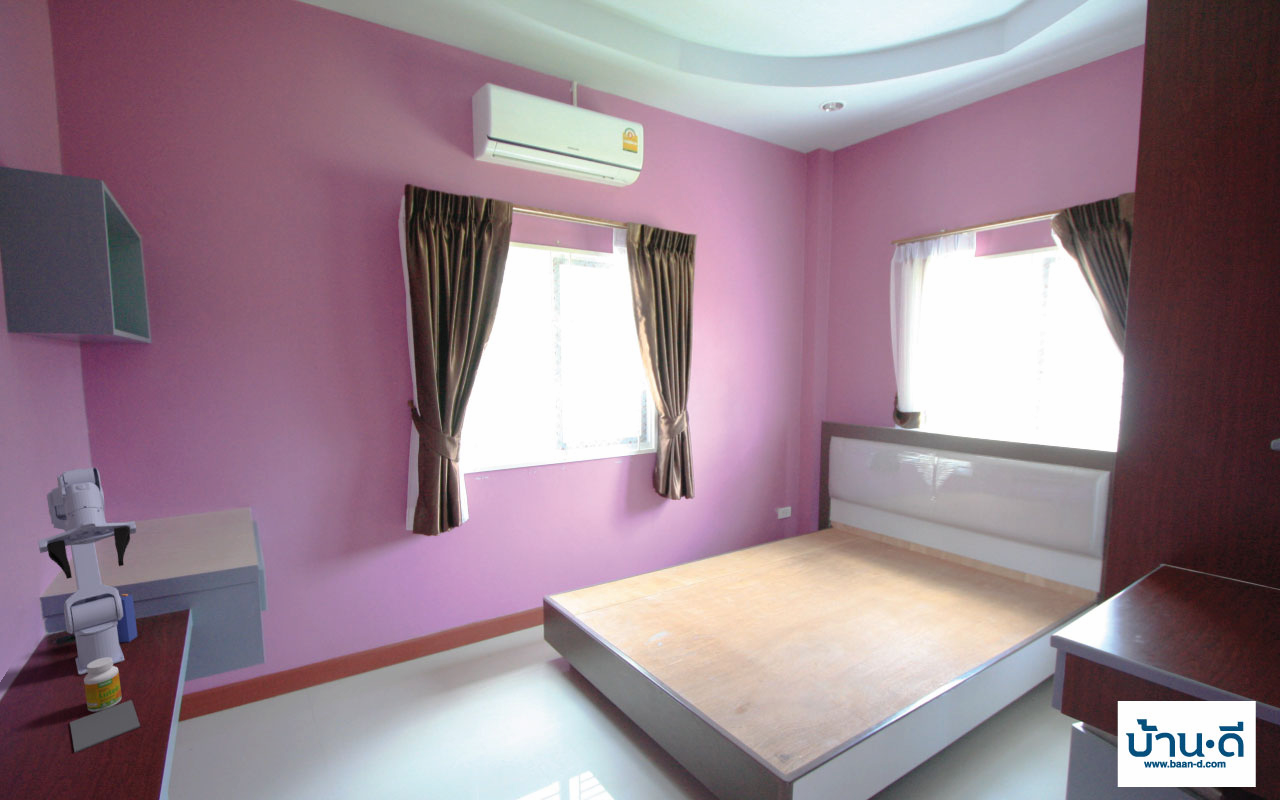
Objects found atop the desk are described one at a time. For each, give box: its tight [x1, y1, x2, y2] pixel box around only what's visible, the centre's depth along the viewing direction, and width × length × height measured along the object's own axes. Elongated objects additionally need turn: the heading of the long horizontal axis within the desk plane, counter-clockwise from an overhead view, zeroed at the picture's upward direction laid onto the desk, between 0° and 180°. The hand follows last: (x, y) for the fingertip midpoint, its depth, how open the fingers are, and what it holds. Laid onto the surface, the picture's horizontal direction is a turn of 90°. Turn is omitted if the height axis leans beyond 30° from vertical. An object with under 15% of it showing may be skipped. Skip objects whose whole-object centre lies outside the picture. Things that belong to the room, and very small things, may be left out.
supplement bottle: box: [83, 657, 123, 713], centre depth 121 cm, size 5×5×10 cm
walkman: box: [117, 593, 138, 643], centre depth 145 cm, size 8×3×12 cm, turn 96°
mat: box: [69, 699, 141, 754], centre depth 115 cm, size 12×10×1 cm
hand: (95, 569), depth 114 cm, fingers open, 7 cm apart
